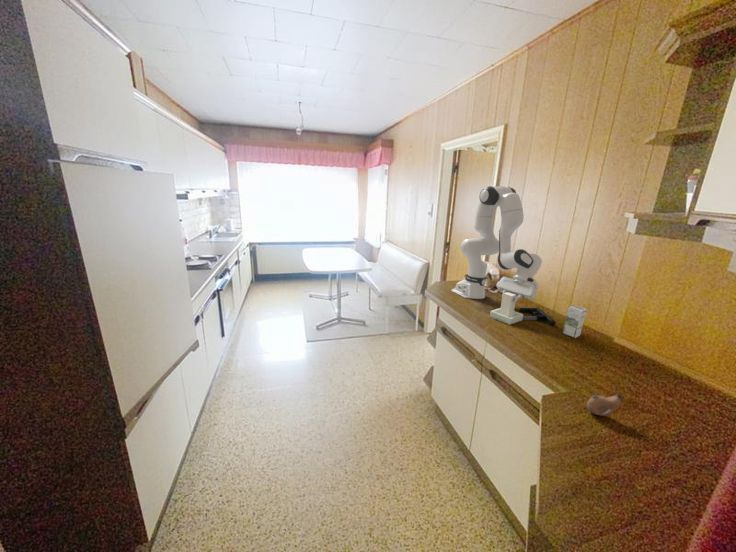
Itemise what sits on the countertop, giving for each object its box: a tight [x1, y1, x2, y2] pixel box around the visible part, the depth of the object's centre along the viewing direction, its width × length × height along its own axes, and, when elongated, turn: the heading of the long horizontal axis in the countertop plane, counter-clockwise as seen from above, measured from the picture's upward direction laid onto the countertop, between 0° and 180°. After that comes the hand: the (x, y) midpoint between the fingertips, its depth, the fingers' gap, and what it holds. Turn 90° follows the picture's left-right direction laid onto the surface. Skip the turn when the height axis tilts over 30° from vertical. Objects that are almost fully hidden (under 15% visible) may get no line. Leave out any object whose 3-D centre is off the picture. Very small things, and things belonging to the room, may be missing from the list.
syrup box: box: [562, 304, 587, 339], centre depth 139 cm, size 6×6×14 cm
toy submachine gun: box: [519, 306, 557, 326], centre depth 160 cm, size 3×20×16 cm
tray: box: [489, 307, 524, 326], centre depth 157 cm, size 12×12×4 cm
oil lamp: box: [586, 393, 624, 417], centre depth 88 cm, size 9×4×8 cm, turn 81°
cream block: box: [499, 292, 518, 317], centre depth 155 cm, size 5×5×12 cm
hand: (508, 299), depth 154 cm, fingers closed on cream block, 5 cm apart
